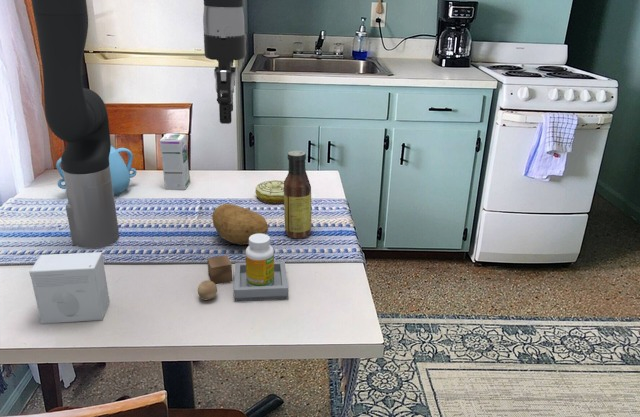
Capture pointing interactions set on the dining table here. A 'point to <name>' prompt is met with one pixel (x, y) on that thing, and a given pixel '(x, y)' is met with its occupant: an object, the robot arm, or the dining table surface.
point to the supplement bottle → (259, 261)
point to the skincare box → (70, 287)
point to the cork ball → (207, 290)
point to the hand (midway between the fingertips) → (226, 117)
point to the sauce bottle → (297, 197)
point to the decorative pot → (112, 170)
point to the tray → (261, 292)
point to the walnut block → (220, 269)
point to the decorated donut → (271, 191)
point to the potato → (238, 223)
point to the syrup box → (175, 161)
